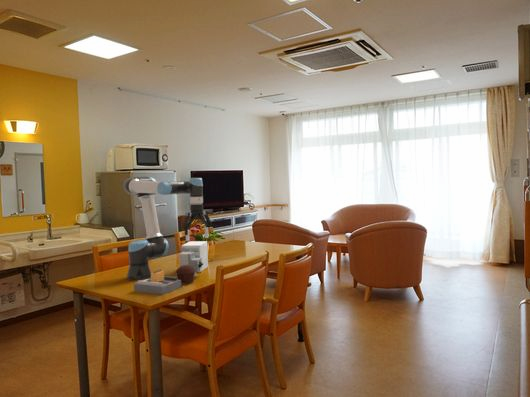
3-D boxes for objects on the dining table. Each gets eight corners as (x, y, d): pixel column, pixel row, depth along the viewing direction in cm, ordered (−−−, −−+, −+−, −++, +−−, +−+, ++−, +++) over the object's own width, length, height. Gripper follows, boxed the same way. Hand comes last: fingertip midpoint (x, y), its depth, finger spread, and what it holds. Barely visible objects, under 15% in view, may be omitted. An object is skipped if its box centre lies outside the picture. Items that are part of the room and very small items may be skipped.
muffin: (180, 285, 232) (180, 268, 232) (172, 282, 241) (172, 265, 240) (199, 282, 239) (198, 265, 239) (191, 278, 248) (190, 262, 247)
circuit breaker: (200, 278, 249) (199, 254, 248) (178, 277, 252) (178, 253, 251) (204, 275, 256) (203, 252, 255) (183, 274, 259) (182, 251, 258)
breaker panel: (134, 291, 223) (133, 281, 223) (153, 284, 238) (153, 274, 238) (162, 294, 215) (162, 284, 215) (181, 286, 229) (180, 277, 229)
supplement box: (190, 266, 284) (189, 241, 283) (208, 266, 282) (207, 241, 281) (181, 272, 267) (180, 245, 266) (200, 272, 265) (199, 245, 264)
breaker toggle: (151, 281, 224) (150, 271, 224) (158, 279, 230) (158, 269, 229) (157, 282, 223) (156, 272, 222) (164, 279, 228) (163, 270, 228)
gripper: (181, 205, 229) (182, 242, 230) (217, 202, 246) (218, 237, 247) (174, 204, 234) (175, 240, 235) (210, 202, 251) (210, 236, 252)
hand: (197, 239), depth 241 cm, fingers open, 13 cm apart
